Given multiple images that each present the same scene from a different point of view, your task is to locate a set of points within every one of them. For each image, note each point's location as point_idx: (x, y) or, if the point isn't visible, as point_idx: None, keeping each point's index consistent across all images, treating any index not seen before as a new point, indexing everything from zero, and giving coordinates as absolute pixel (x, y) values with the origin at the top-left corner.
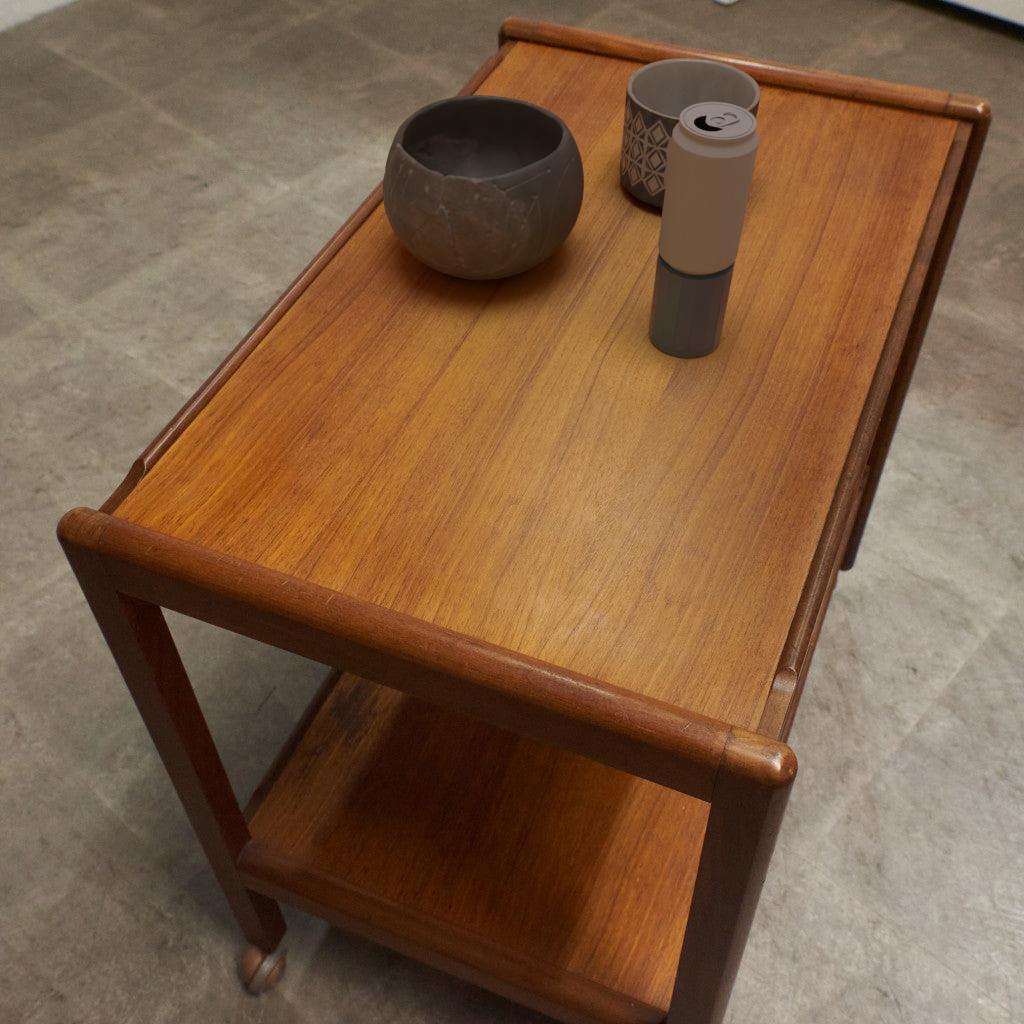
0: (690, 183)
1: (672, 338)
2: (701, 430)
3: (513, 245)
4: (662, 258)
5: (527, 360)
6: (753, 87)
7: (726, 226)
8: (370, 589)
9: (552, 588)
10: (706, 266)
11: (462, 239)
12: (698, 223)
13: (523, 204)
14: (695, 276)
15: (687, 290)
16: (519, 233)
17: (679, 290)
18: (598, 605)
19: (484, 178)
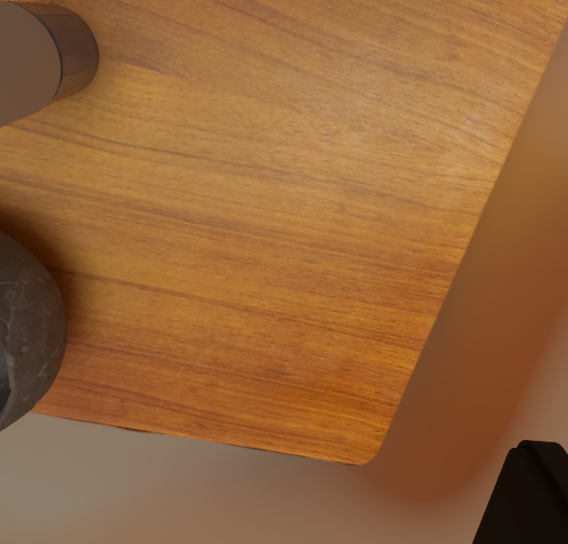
0: (4, 105)
1: (90, 70)
2: (217, 26)
3: (41, 281)
4: None
5: (145, 220)
6: None
7: (17, 30)
8: (441, 298)
9: (438, 163)
10: (53, 48)
11: (59, 335)
12: (32, 76)
13: (5, 294)
14: None
15: (68, 67)
16: (32, 282)
17: (68, 77)
18: (457, 121)
19: (4, 352)
